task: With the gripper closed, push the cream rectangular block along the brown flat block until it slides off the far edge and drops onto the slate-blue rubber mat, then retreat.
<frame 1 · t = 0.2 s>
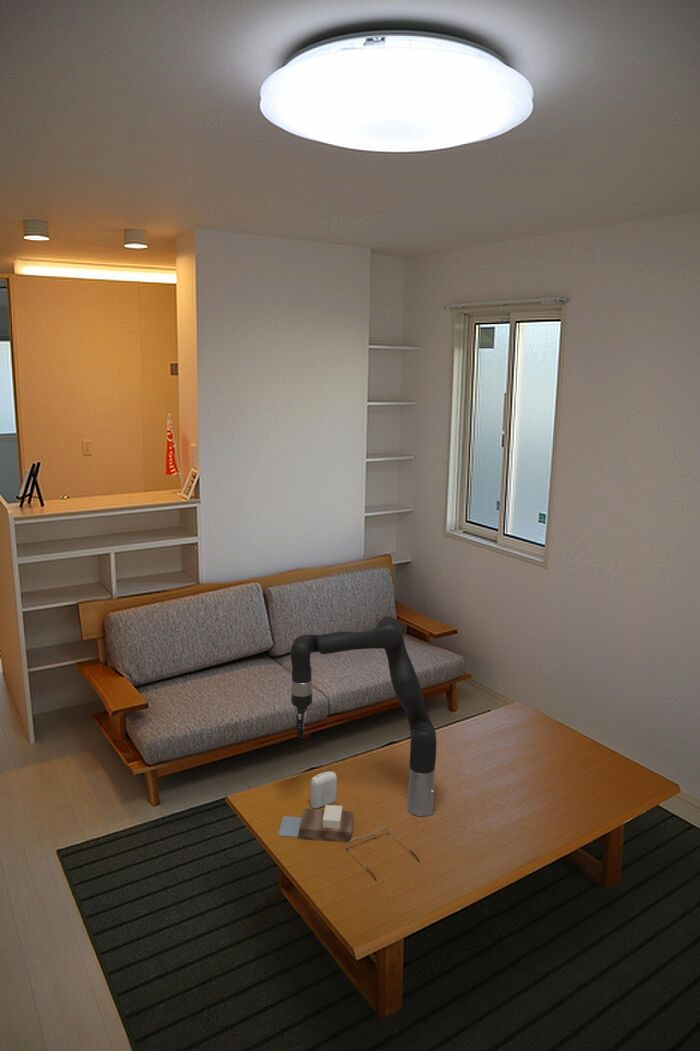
hand: (301, 732, 276), 29 cm above the table, fingers open, 8 cm apart
brown flat block: (326, 830, 267), on the table
mat: (290, 826, 268), on the table
cream rectangular block: (332, 816, 265), point 5 cm above the table, touching brown flat block
photo printer: (323, 803, 282), on the table
eyeglasses: (382, 857, 254), on the table
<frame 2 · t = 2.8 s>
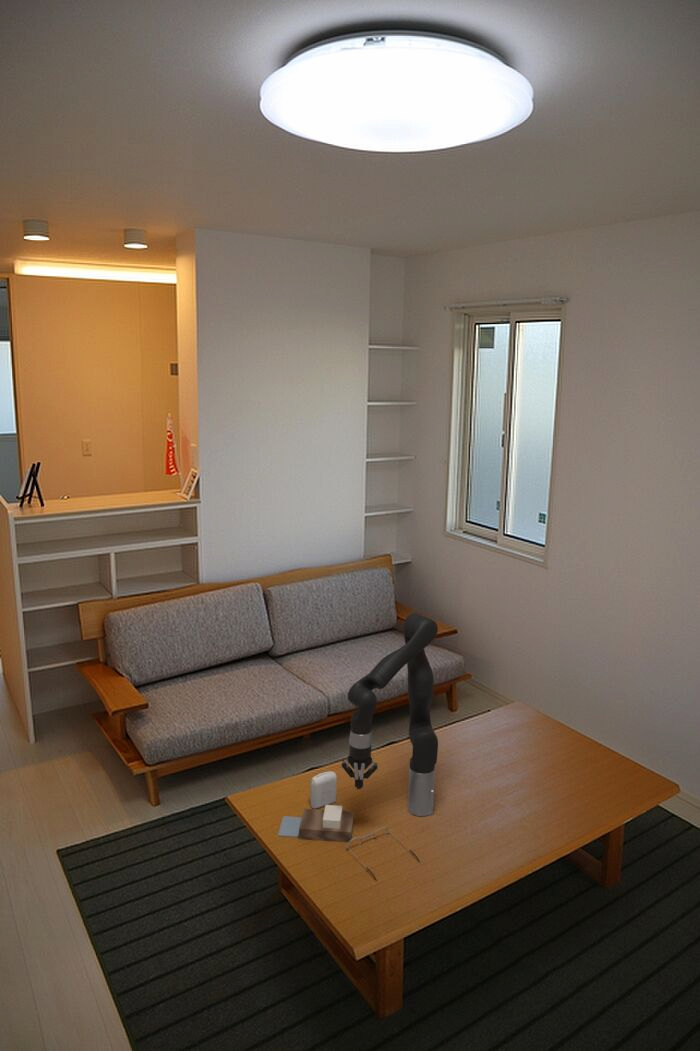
hand: (358, 787, 262), 17 cm above the table, fingers closed
nothing on the table moved.
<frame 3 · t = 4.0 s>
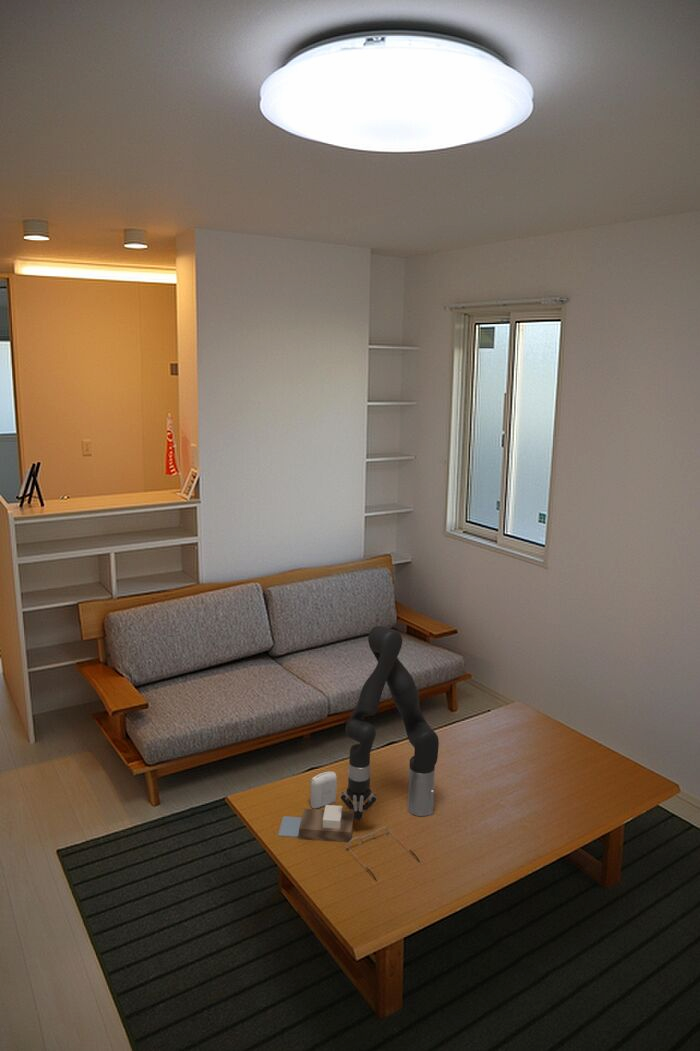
hand: (357, 819, 265), 5 cm above the table, fingers closed
nothing on the table moved.
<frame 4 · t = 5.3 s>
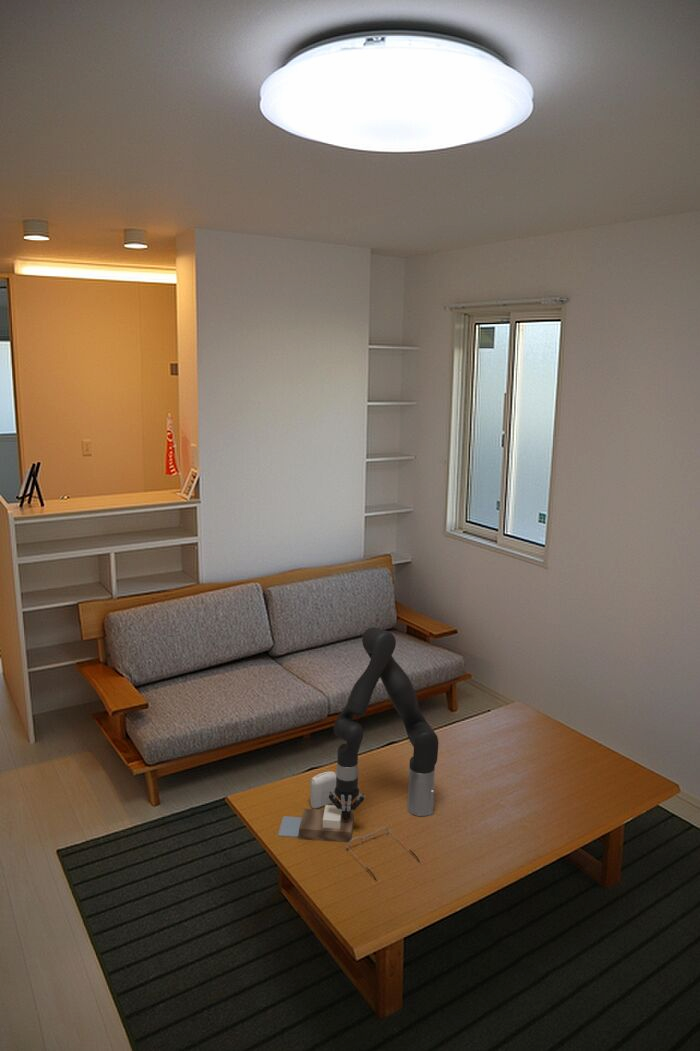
hand: (346, 818, 265), 5 cm above the table, fingers closed
cream rectangular block: (332, 816, 265), point 5 cm above the table, touching brown flat block, gripper
everything else where it was.
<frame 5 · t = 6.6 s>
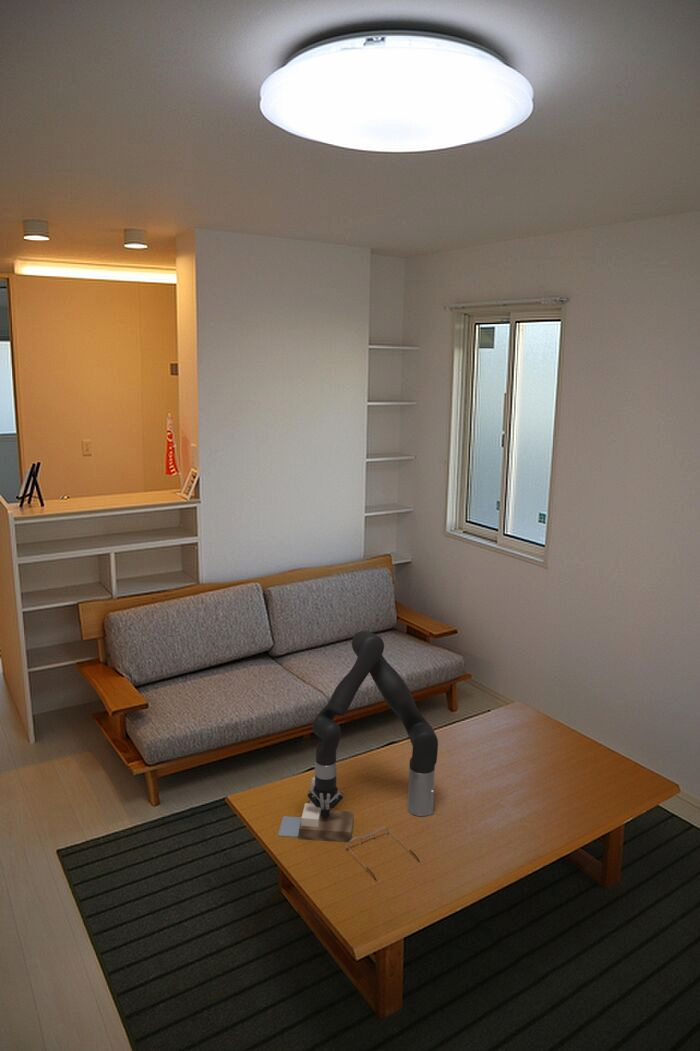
hand: (325, 817, 265), 5 cm above the table, fingers closed
cream rectangular block: (311, 814, 266), point 6 cm above the table, touching brown flat block
everything else where it was.
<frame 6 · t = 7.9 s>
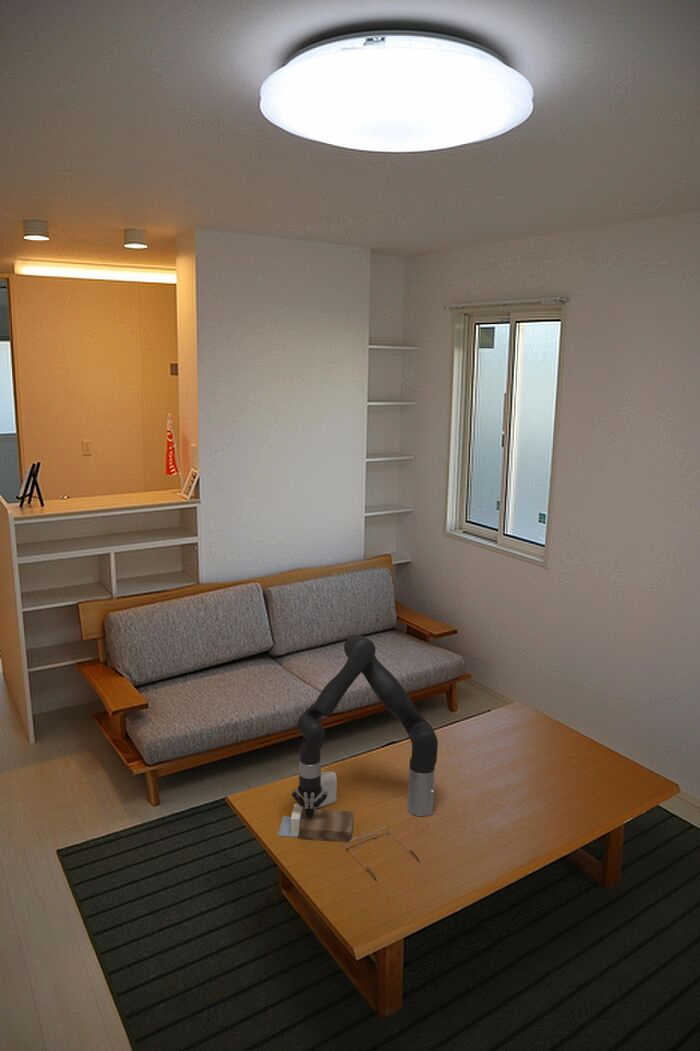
hand: (309, 816, 266), 5 cm above the table, fingers closed
cream rectangular block: (296, 819, 267), point 3 cm above the table, tilted 90°, touching mat
everything else where it was.
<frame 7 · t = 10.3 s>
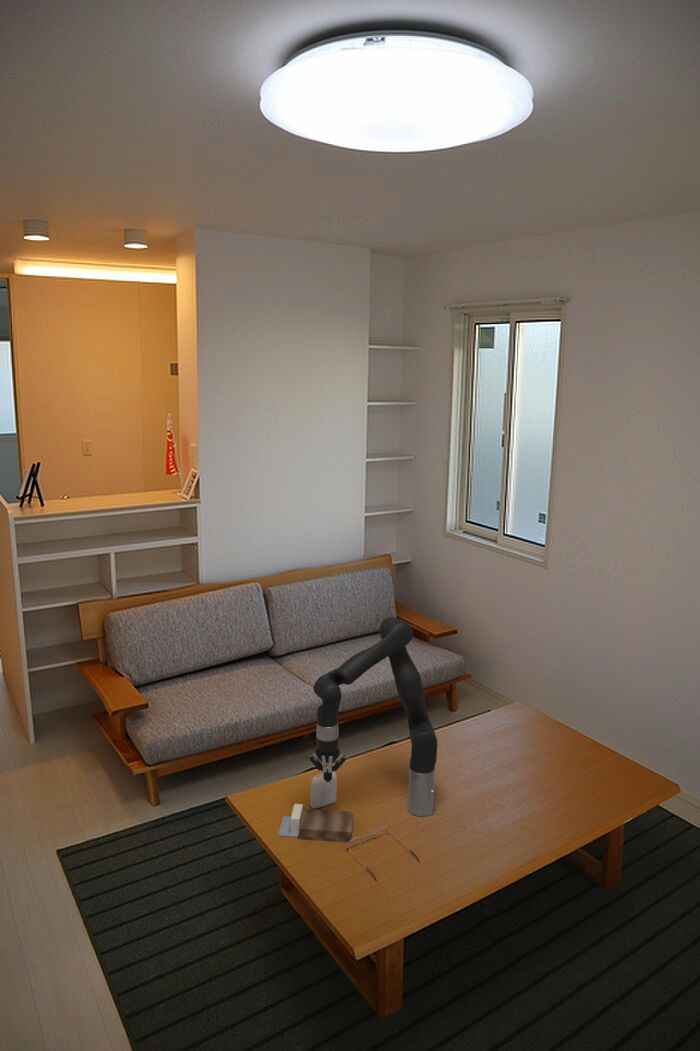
hand: (327, 780, 262), 20 cm above the table, fingers closed
nothing on the table moved.
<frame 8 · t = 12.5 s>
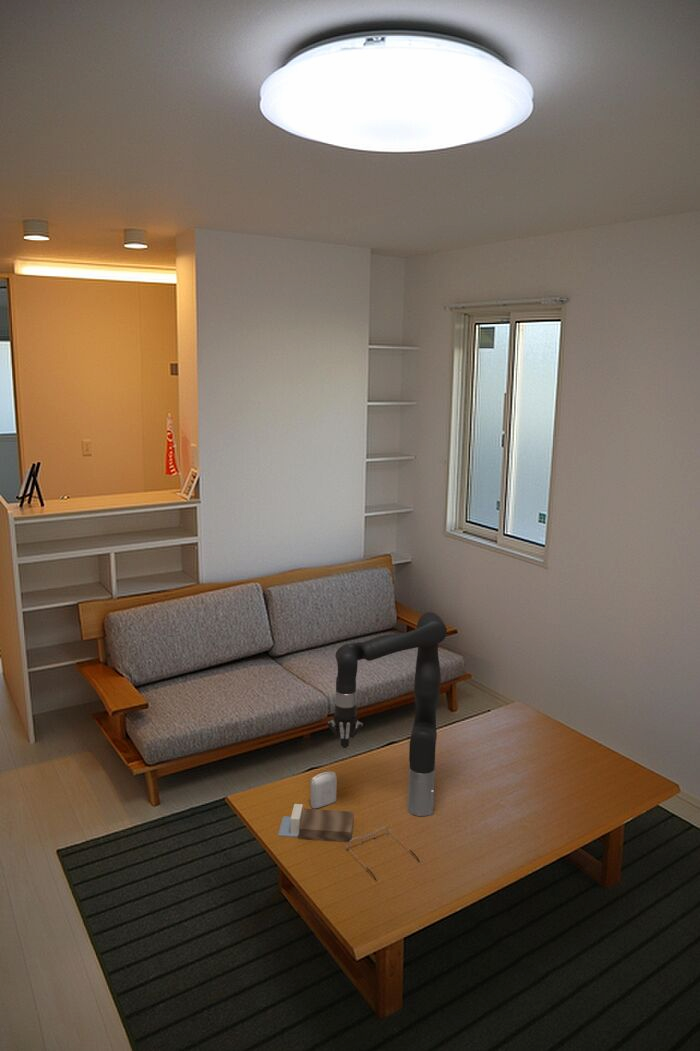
hand: (344, 746, 270), 27 cm above the table, fingers closed
nothing on the table moved.
at the end: cream rectangular block inside the target area (3.0 cm from its centre), point 3.3 cm above the table; cream rectangular block touching mat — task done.
